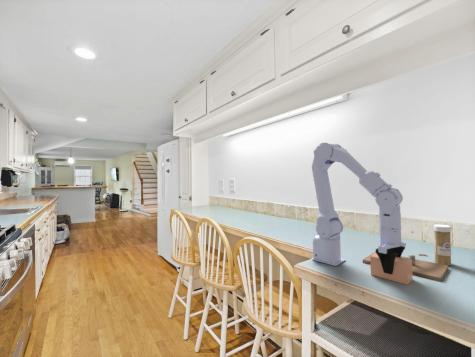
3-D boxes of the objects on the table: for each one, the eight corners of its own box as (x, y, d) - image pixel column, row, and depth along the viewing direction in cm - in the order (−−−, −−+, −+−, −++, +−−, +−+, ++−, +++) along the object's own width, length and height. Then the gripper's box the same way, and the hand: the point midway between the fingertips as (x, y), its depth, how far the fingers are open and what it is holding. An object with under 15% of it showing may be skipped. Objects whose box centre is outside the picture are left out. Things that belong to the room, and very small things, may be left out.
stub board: (362, 262, 87) (362, 251, 87) (375, 253, 96) (375, 243, 96) (440, 281, 71) (440, 267, 71) (448, 268, 79) (448, 256, 79)
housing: (370, 274, 77) (370, 256, 77) (376, 270, 80) (376, 252, 80) (407, 284, 69) (407, 264, 69) (412, 279, 73) (412, 259, 72)
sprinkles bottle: (444, 266, 81) (443, 227, 81) (431, 261, 85) (430, 224, 85) (455, 265, 82) (454, 226, 82) (441, 260, 86) (440, 223, 86)
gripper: (397, 233, 67) (398, 282, 67) (411, 225, 76) (412, 267, 76) (370, 230, 72) (371, 274, 72) (386, 222, 81) (387, 261, 82)
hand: (390, 270), depth 75 cm, fingers closed on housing, 5 cm apart
